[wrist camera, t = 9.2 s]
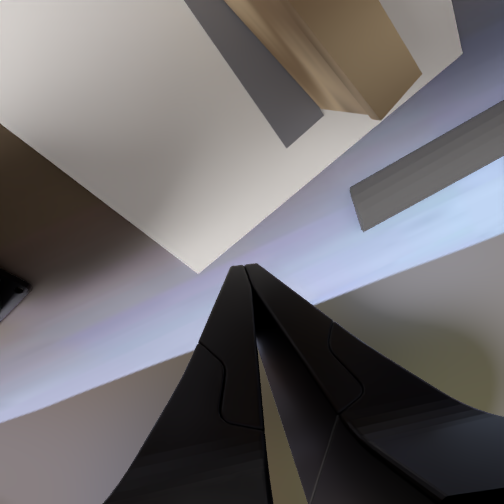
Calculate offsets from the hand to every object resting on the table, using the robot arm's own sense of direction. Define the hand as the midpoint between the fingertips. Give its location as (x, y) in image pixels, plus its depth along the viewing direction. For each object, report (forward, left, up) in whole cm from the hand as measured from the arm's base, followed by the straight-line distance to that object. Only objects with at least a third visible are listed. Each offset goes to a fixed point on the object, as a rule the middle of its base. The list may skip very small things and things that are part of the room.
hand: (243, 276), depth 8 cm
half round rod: (+15, -10, -10) cm, 21 cm away
